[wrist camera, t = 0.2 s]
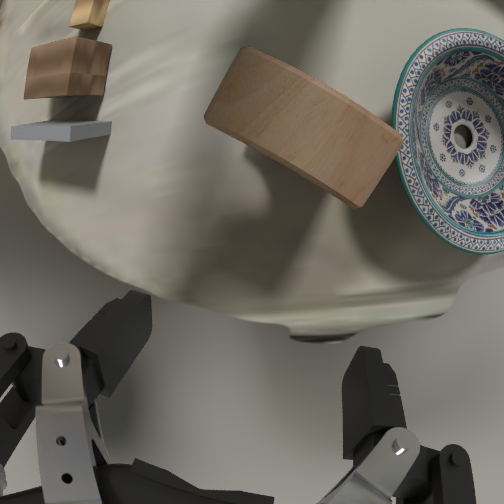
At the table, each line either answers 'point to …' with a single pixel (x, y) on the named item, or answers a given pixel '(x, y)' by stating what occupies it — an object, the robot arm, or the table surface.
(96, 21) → the tan wooden block
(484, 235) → the bowl
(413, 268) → the table surface
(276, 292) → the table surface
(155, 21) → the table surface
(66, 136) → the wall
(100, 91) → the socket block
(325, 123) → the decorative block
